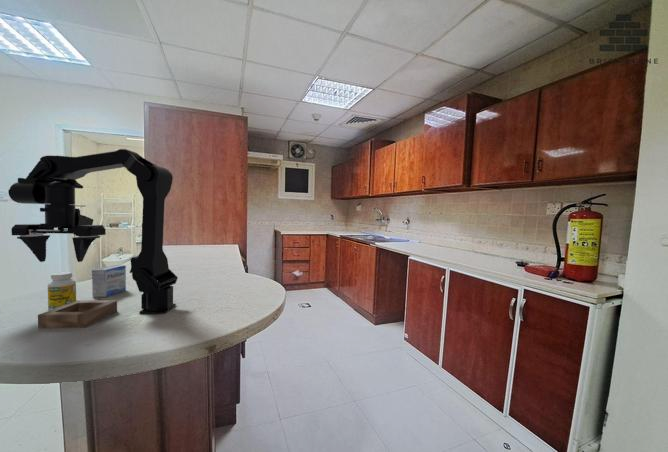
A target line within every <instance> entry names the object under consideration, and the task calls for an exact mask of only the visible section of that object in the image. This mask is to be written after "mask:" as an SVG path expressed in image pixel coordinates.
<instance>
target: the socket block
mask: <svg viewBox="0 0 668 452" xmlns="http://www.w3.org/2000/svg"><path fill="white" fill-rule="evenodd" d="M117 312H118V300H117V299H116V300H110V299H108V300H107V299H106V300H105V299H104V300H101V299H100V300H93V299H92V300H90V299H89V300H88V299H87V300H77V299H76V301H74V302H71V303H69V304H66V305H63V306H60V307H58V308H55V309H52V310H47V311H45V312H42V313H39V314H38V315H37V328H38V329H40V328H41V329H50V328H52V329H54V328H55V329H56V328H57V329H58V328H62V329H63V328H87V327H89V326H91V325H93V324H95V323H97V322H99V321H101V320H103V319H105V318H106V317H109V316H110V315H113V314H115V313H117Z"/></svg>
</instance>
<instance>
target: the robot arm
mask: <svg viewBox="0 0 668 452" xmlns="http://www.w3.org/2000/svg"><path fill="white" fill-rule="evenodd" d="M120 168H121V169H122V168H125V170H127V172H129V173H130V174H132V175H133V176H135V178H136V179H135V180H136V186H137V189H138V190H139V192H140V194H141V196H142V214H141V215H142V223H141V243H140V244H141V245H140V246H141V247H140V249H141V250H140V252H139V254H138V255H137V256H133V257H131V258H130V270H129V274H131V278H132V280H133V281H135V284H136V286H137V289H138V291H139V293H141V295H140V296H141V310H140V311H139V312H138V313H139V314H142V315H143V314H146V315H147V314H165V313H167V312H170V311H171V309H173V308H174V307H176V305H177V303H174V285H176V284H177V281H178V279H179V278H178V276H177V275H176V274H175V273H174V272H173V271H172V270H171V269H170V268H169V262H168V261H169V260H168V258H167V256H166V253H165V252H164V249H163V248H164V246H163V245H164V243H163V242H164V226H165V225H164V223H165V222H164V221H165V201H166V198H167V196H168V195H169V193H170V192H171V189H172V184H173V179H174V178H173V173H171V171H170V170H168V169H167V168H165V167H161V166H158V165H157V164H156V163H155V164H154V163H153V162H151V161H150V160H148V159H146V158H144V157H143V156H141V155H140V154H139V153H137V152H136V151H132V150H130V149H127V148H119V149H117V150H113V151H105V152H99V153H93V154H87V155H80V156H67V155H66V156H64V155H44V156H41V157H40V158H39V161H38V162H37V163H36V164H35V166H34V167H33V169H32V170H31V171H30V172H29V173H28V174H27V176H26V177H18V178H17V182H14V183H13V184H11V186H10V187H9V189H8V193H7V194H8V196H9V198H10V199H11V200H12V201H13V202H15V203H17V204H26V205H27V204H30V205H31V204H32V205H37V204H38V205H44V207H40V208H39V212H41V213H42V212H44V222H43V223H23V224H19V223H18V224H14V225H13V226H12V227H11V229H10V230H11V236H16V238H17V239H19V240H21V242H23V243H24V245H26V247H28V248H29V250H30V251H31V252H32V254H33V255H34V256H35V257H36V258H37V260H38V261H39V262H40V263H44V262H45V261H46V258H47V241H48V240H49V238H50V237H51V235H50V234H73V235H74V236H75V237H74V236H73V237H72V238H71V239H72V244H73V248H74V252H75V253H74V254H75V258H76V261H77V262H78V263H81V262H83V261H84V259H85V256H86V255H87V252H88V250H89V248H90V247H91V244H92V243H93V242H94V241H95V240H96V239H100V238H101V236H105V235H107V234H106V228H105V227H104V225H102V224H94V220H95V219H93V218H92V217H88V216H86V215H82V214H81V210H80V208H76V189H84V185H82V184H81V183H79V182H78V181H77V180H78V179H81V178H83V177H85V176H86V175H88V174H90V173H95V172H102V171H108V170H114V169H120Z"/></svg>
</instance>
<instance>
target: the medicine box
mask: <svg viewBox="0 0 668 452" xmlns="http://www.w3.org/2000/svg"><path fill="white" fill-rule="evenodd" d="M126 266H127V265H123V264H121V265H119V264H116V265H115V264H114V265H110V266H109V265H108V266H104V267H101V268H97V269H92V270H91V279H92V281H91V285H92V287H91V288H92V291H91V292H92V298H93V297H94V298H108V297H110V296H114V295H116V294H119V293H121V292H125V291H126V290H127V286H126V285H127V283H126V282H127V281H126V280H127V273H126V272H127V270H126V269H127V267H126Z"/></svg>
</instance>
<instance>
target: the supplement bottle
mask: <svg viewBox="0 0 668 452" xmlns="http://www.w3.org/2000/svg"><path fill="white" fill-rule="evenodd" d="M72 278H73V273H72V272H71V271H62V272H54V273H51V274H50V279H51V280H52V281H49V282H48V283H47V305H48V307H47V308H48V311H50V310H52V309H55V308H58V307H60V306H63V305H66V304H69V303H71V302H74V301H77V282H76V280H75V279H72Z"/></svg>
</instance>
